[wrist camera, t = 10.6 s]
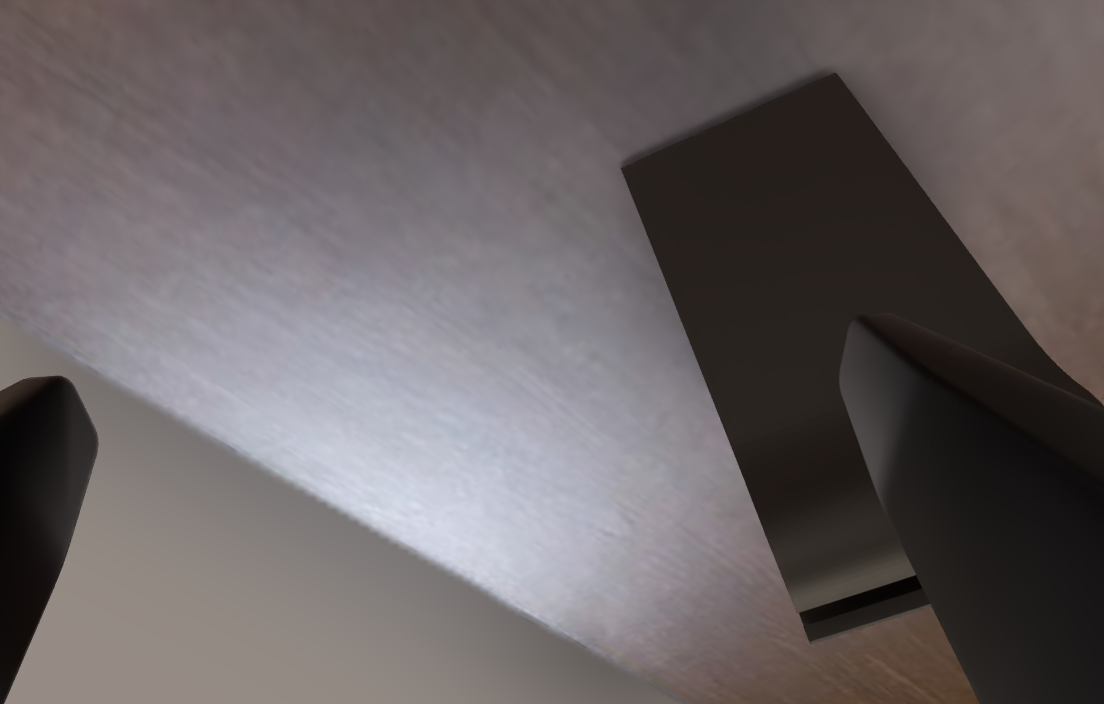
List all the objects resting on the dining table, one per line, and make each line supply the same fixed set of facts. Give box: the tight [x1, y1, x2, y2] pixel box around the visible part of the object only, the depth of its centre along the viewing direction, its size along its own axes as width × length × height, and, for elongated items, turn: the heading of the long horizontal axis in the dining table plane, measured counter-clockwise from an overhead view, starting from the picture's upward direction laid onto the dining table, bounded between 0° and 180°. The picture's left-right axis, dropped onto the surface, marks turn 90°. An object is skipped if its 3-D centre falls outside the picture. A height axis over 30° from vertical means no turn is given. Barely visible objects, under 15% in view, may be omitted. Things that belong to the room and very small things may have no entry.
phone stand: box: [621, 73, 1104, 644], centre depth 18 cm, size 9×6×12 cm, turn 24°
